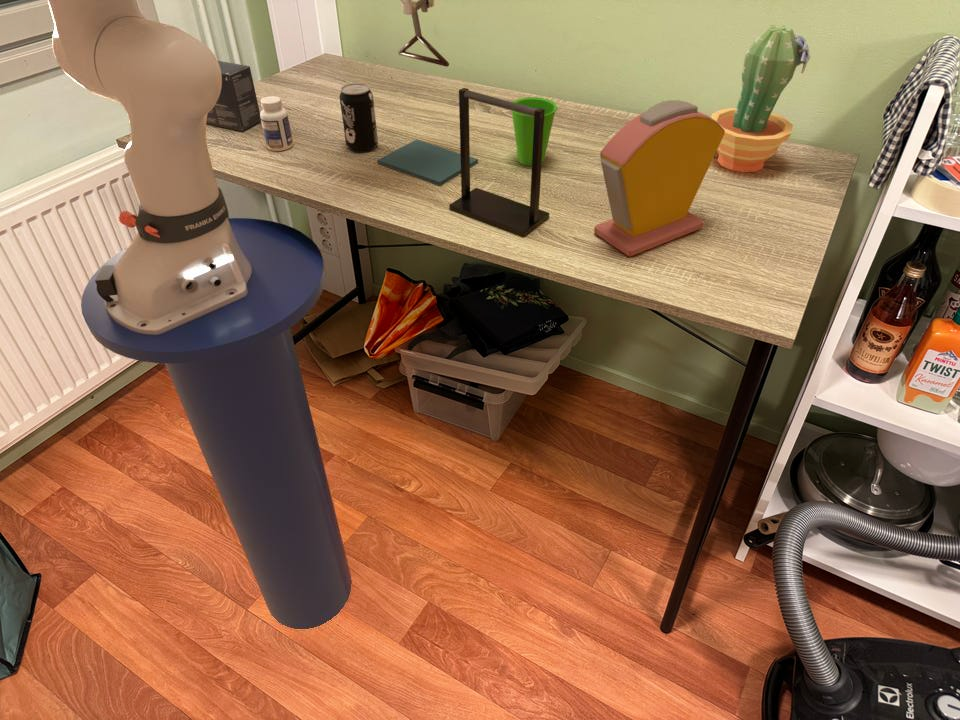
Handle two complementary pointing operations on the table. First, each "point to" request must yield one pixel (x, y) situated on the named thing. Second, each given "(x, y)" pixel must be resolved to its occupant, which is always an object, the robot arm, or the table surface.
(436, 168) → the mat
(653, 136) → the yellow fan-shaped flat fixture
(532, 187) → the rack
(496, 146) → the table surface
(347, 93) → the beverage can
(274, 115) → the pill bottle
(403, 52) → the hanger
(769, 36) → the potted cactus
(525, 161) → the cup
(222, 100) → the small box
